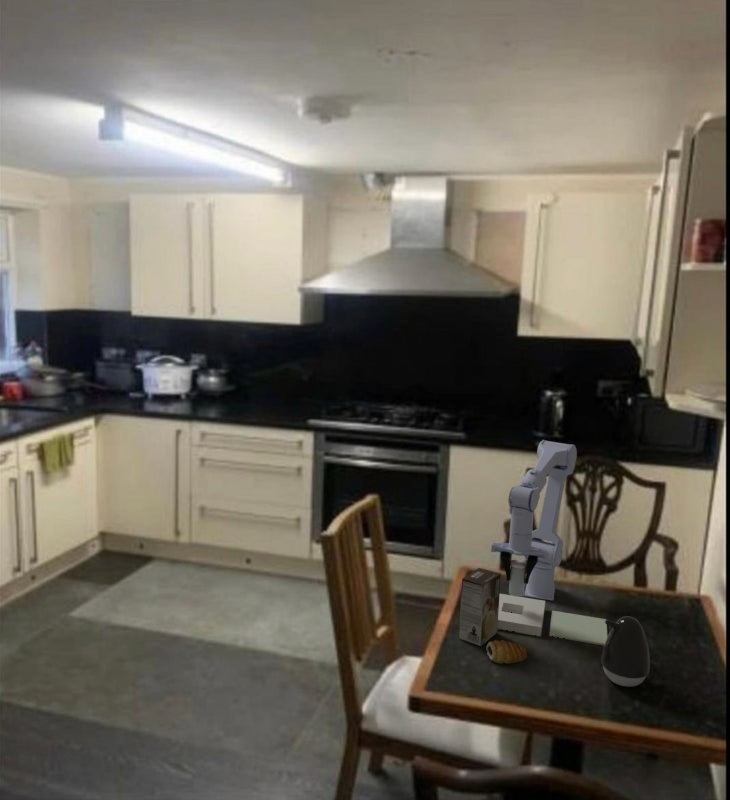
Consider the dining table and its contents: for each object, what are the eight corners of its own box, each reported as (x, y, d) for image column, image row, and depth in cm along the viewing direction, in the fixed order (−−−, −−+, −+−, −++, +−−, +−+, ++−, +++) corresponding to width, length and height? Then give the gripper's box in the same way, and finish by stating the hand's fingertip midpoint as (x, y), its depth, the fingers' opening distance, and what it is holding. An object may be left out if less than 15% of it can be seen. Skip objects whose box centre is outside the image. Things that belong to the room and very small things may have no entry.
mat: (552, 612, 192) (552, 610, 192) (606, 621, 188) (606, 619, 188) (549, 636, 179) (549, 634, 179) (607, 646, 175) (607, 644, 175)
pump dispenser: (593, 667, 165) (599, 606, 163) (638, 669, 165) (644, 608, 162) (606, 692, 155) (613, 627, 153) (654, 694, 155) (661, 629, 152)
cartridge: (508, 588, 190) (511, 558, 189) (525, 591, 189) (528, 560, 187) (507, 595, 186) (509, 564, 184) (524, 597, 185) (526, 567, 183)
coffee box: (475, 625, 184) (479, 566, 181) (497, 633, 180) (501, 573, 177) (458, 638, 176) (461, 577, 174) (481, 647, 172) (485, 585, 170)
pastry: (521, 649, 172) (522, 635, 172) (531, 664, 166) (532, 649, 165) (483, 651, 171) (484, 636, 170) (492, 666, 165) (493, 651, 164)
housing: (486, 599, 198) (486, 591, 198) (544, 609, 194) (545, 600, 193) (477, 625, 183) (478, 616, 183) (540, 636, 179) (541, 627, 178)
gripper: (491, 532, 183) (487, 582, 185) (548, 540, 179) (544, 591, 181) (494, 524, 189) (491, 572, 192) (550, 531, 185) (546, 580, 187)
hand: (517, 580), depth 187 cm, fingers closed on cartridge, 4 cm apart
